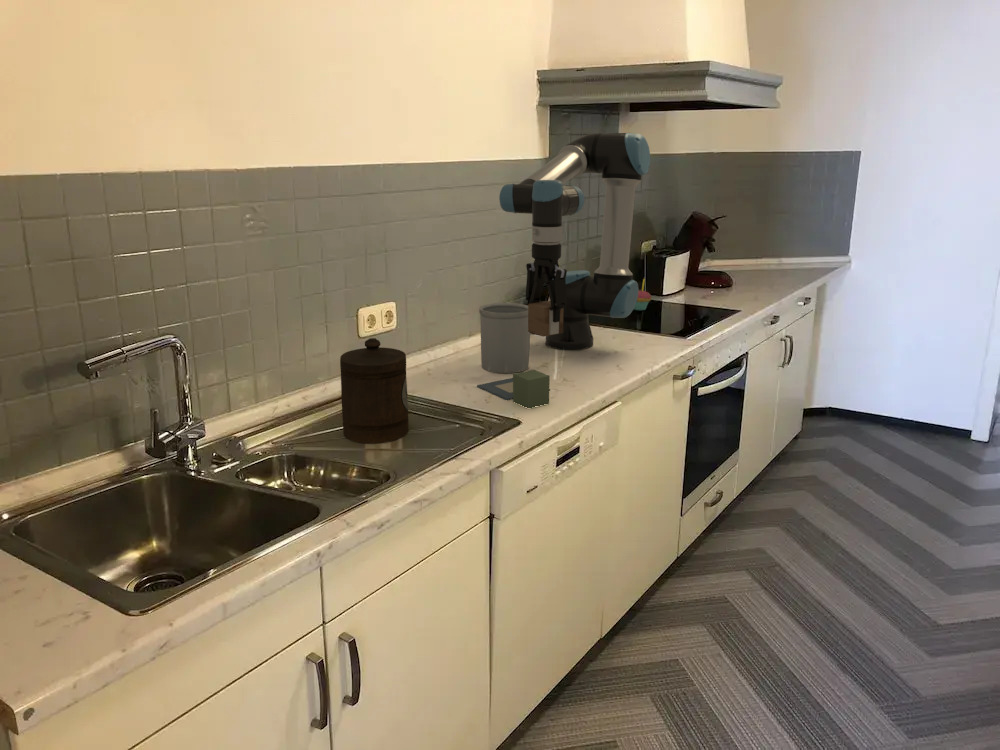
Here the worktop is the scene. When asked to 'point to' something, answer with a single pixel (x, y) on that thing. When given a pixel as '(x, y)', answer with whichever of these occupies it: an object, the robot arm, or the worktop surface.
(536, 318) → the walnut block
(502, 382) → the blue square frame
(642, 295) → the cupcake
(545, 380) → the olive block
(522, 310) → the utensil holder
